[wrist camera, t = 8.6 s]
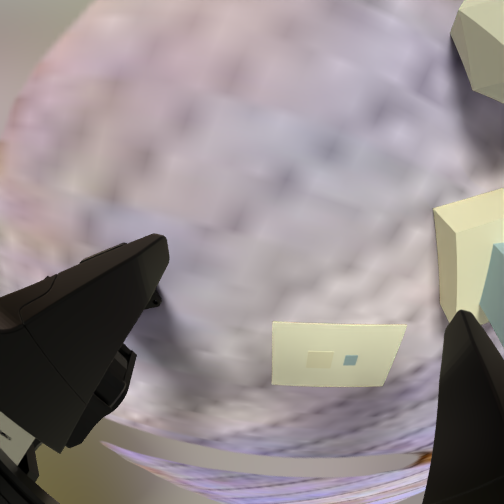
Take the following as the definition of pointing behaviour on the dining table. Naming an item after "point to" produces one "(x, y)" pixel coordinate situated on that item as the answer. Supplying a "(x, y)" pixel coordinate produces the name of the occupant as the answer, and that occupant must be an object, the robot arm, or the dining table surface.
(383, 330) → the plate
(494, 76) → the die
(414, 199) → the dining table surface
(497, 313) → the blue brick
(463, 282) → the base brick
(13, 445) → the robot arm
